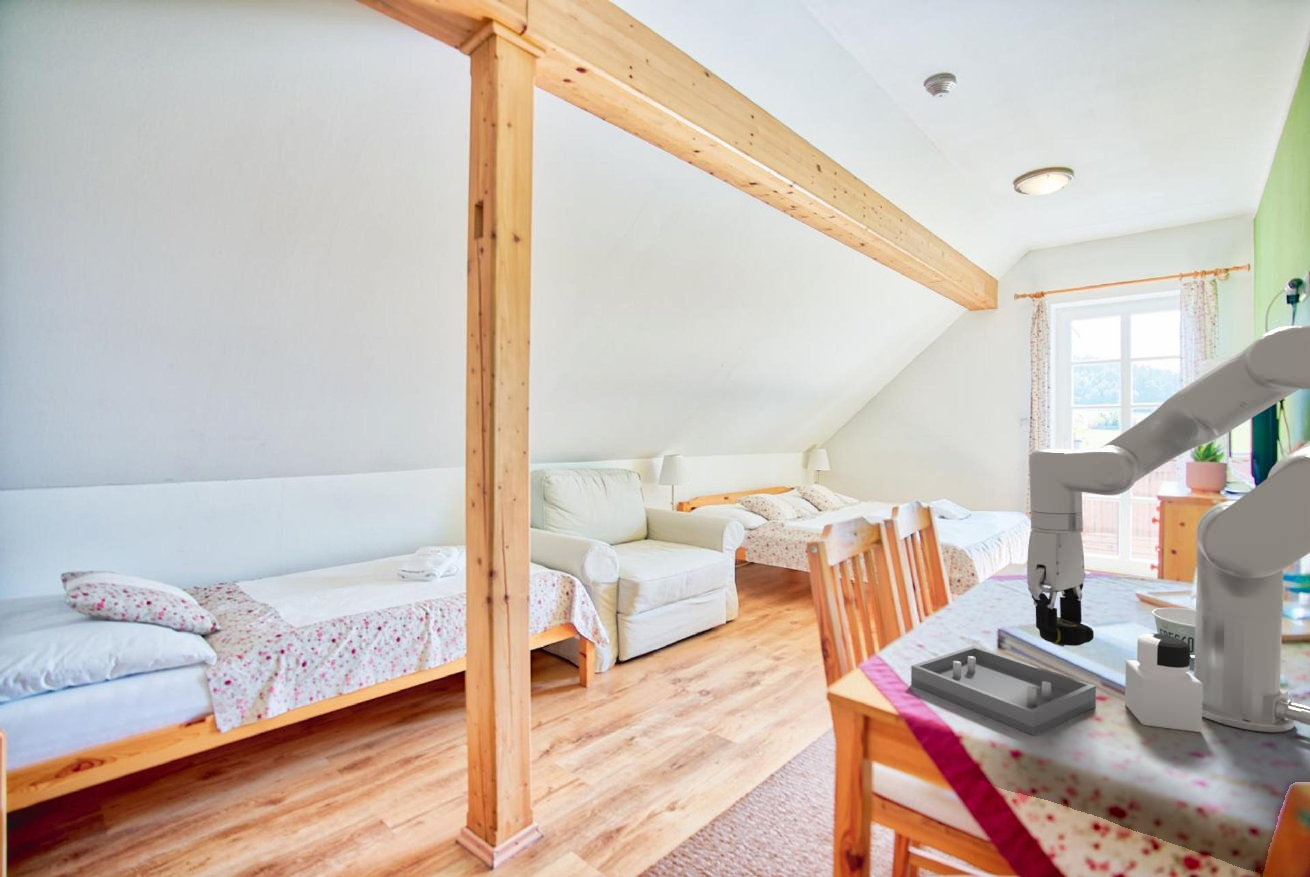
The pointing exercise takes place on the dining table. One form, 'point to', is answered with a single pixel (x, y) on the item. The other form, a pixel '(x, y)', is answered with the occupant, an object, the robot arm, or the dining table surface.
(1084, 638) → the tape measure
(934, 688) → the pin tray
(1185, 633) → the food container
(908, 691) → the dining table surface
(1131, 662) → the medicine bottle
